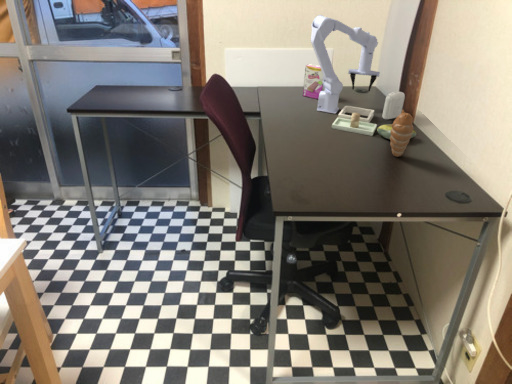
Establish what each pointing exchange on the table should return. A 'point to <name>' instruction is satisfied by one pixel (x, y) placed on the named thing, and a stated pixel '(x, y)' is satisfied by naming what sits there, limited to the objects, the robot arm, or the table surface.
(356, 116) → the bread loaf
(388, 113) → the photo printer
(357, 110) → the square open frame
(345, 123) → the tray
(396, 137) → the tan ribbed oblong piece
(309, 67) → the candy bar box
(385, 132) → the cell model
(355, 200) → the table surface
